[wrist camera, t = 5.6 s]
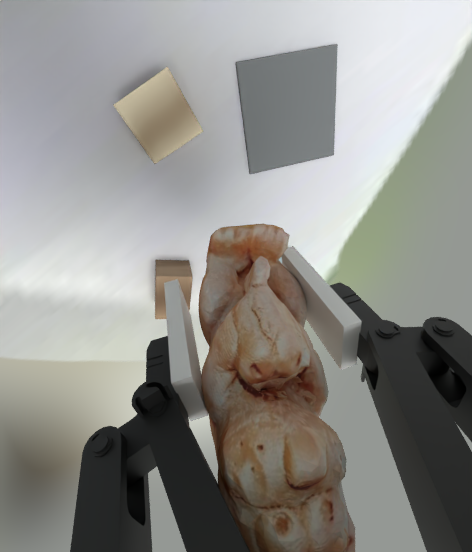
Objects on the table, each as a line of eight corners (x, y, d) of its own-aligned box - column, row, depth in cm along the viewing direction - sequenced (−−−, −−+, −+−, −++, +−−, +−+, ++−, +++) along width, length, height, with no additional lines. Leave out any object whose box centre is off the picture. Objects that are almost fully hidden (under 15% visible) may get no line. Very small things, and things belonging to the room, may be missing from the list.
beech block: (119, 104, 26) (113, 105, 22) (165, 72, 25) (167, 66, 21) (154, 155, 28) (154, 164, 24) (196, 127, 28) (203, 131, 24)
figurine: (270, 201, 18) (543, 449, 5) (262, 298, 22) (406, 563, 10) (169, 208, 16) (226, 559, 4) (181, 310, 20) (228, 636, 8)
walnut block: (155, 259, 34) (156, 276, 31) (188, 260, 35) (192, 276, 32) (155, 299, 37) (155, 319, 34) (185, 299, 38) (188, 317, 35)
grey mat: (235, 62, 26) (236, 62, 26) (335, 44, 27) (337, 44, 27) (249, 173, 32) (250, 174, 31) (331, 154, 33) (333, 155, 32)
